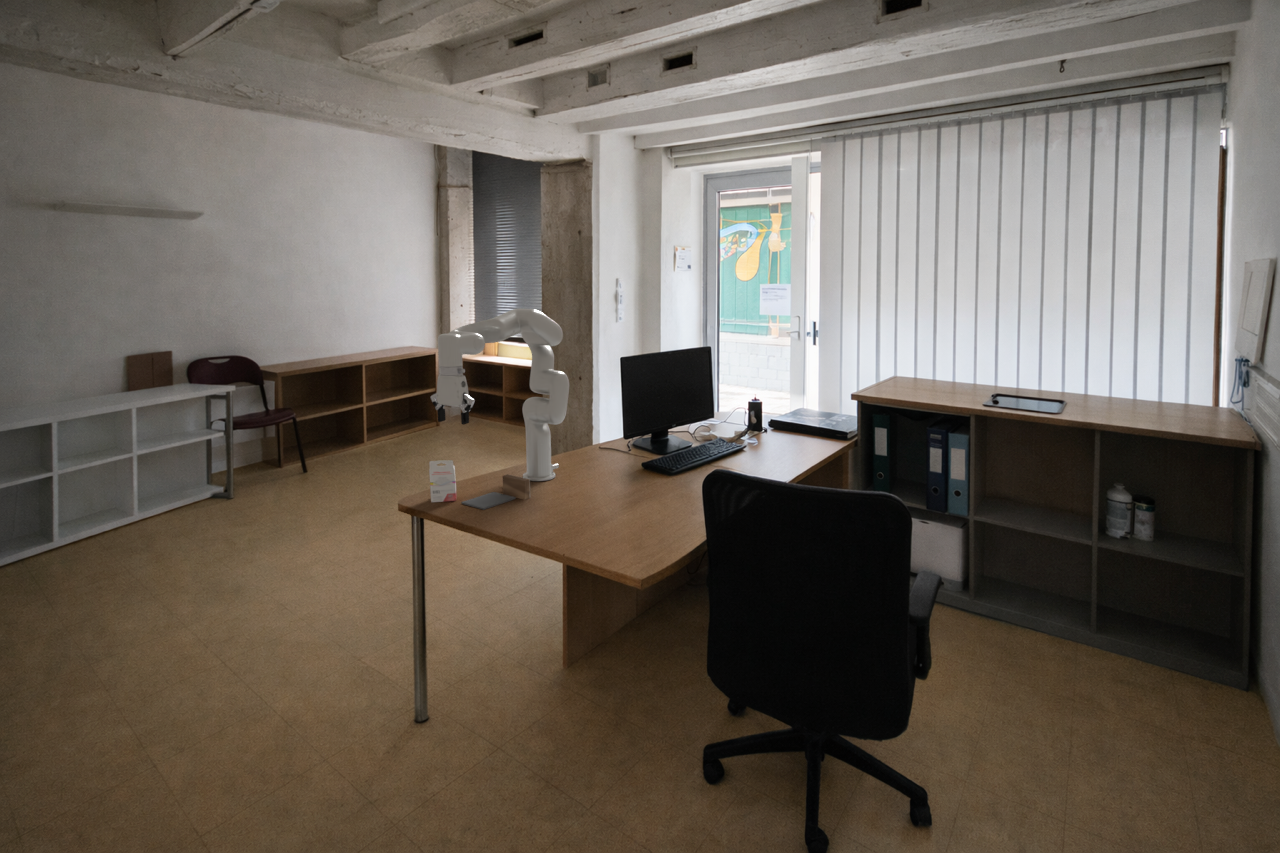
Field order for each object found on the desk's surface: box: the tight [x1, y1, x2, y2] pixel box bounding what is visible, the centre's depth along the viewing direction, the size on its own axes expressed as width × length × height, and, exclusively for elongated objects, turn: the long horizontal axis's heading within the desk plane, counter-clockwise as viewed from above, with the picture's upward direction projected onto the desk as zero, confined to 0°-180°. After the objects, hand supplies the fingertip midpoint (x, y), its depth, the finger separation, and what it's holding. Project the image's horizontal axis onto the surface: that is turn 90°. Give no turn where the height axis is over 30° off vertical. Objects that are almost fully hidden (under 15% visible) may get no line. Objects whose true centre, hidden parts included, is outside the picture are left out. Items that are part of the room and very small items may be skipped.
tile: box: [502, 474, 531, 501], centre depth 251 cm, size 2×11×7 cm, turn 55°
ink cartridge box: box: [428, 459, 458, 503], centre depth 245 cm, size 9×5×15 cm, turn 101°
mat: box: [460, 491, 517, 510], centre depth 245 cm, size 15×11×1 cm
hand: (453, 422), depth 235 cm, fingers open, 9 cm apart
